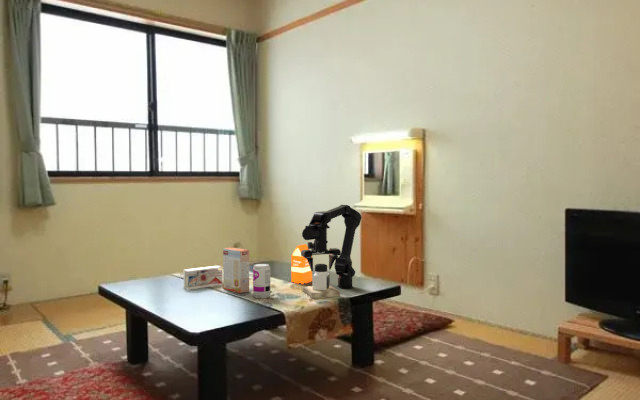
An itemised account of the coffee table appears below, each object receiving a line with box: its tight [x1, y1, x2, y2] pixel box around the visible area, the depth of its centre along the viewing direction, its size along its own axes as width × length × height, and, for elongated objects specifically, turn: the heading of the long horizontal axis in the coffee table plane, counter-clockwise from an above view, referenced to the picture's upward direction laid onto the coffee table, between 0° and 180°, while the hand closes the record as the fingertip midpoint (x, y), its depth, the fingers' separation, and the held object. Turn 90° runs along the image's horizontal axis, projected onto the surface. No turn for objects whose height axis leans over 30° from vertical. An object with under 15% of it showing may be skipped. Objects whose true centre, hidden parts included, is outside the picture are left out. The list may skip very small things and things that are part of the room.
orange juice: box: [290, 243, 313, 285], centre depth 266 cm, size 8×9×20 cm
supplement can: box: [252, 263, 271, 299], centre depth 234 cm, size 8×8×15 cm
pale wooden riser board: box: [301, 285, 341, 299], centre depth 239 cm, size 14×14×2 cm
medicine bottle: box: [311, 263, 331, 291], centre depth 239 cm, size 7×7×12 cm
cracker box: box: [222, 246, 250, 294], centre depth 245 cm, size 14×6×21 cm, turn 47°
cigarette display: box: [182, 265, 223, 290], centre depth 256 cm, size 20×6×9 cm, turn 127°
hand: (320, 270), depth 239 cm, fingers open, 9 cm apart
